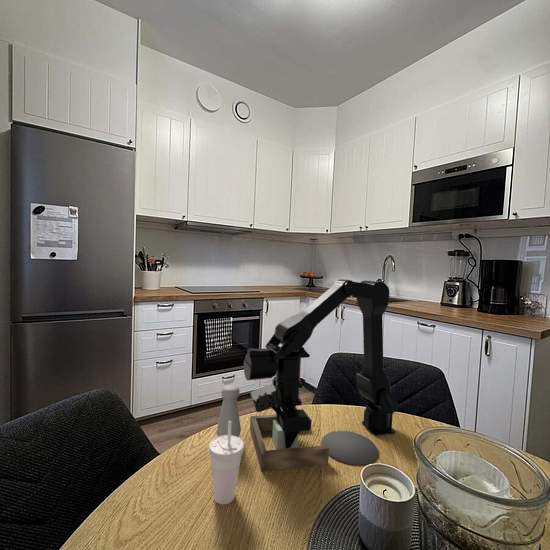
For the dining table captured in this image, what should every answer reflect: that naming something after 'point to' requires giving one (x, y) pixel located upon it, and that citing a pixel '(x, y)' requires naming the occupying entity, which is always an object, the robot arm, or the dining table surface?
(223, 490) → the smoothie
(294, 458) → the bay
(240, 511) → the dining table surface
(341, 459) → the coaster
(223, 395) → the salt shaker
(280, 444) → the block
